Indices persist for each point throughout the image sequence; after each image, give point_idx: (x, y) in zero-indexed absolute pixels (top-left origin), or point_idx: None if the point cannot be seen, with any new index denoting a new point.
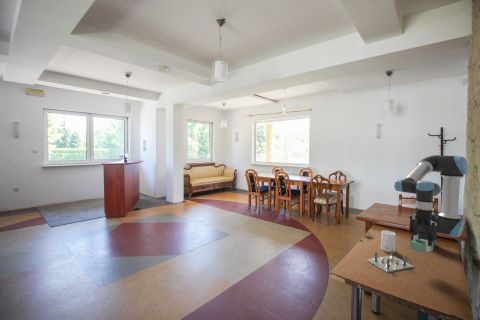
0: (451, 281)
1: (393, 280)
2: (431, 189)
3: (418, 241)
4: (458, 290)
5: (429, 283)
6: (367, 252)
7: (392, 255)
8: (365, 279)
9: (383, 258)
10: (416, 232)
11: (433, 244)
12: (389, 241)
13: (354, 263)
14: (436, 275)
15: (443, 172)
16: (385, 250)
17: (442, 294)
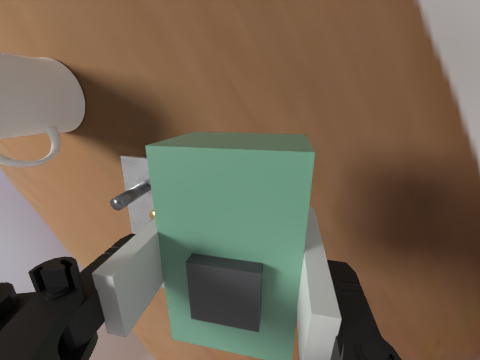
0: (401, 124)
1: None
2: None
3: (221, 321)
4: (456, 185)
5: (350, 239)
6: (82, 218)
7: (140, 194)
8: None
9: None
10: (56, 332)
11: (312, 149)
12: (15, 124)
13: (153, 324)
14: (328, 135)
15: None
16: (70, 130)
17: (420, 275)
